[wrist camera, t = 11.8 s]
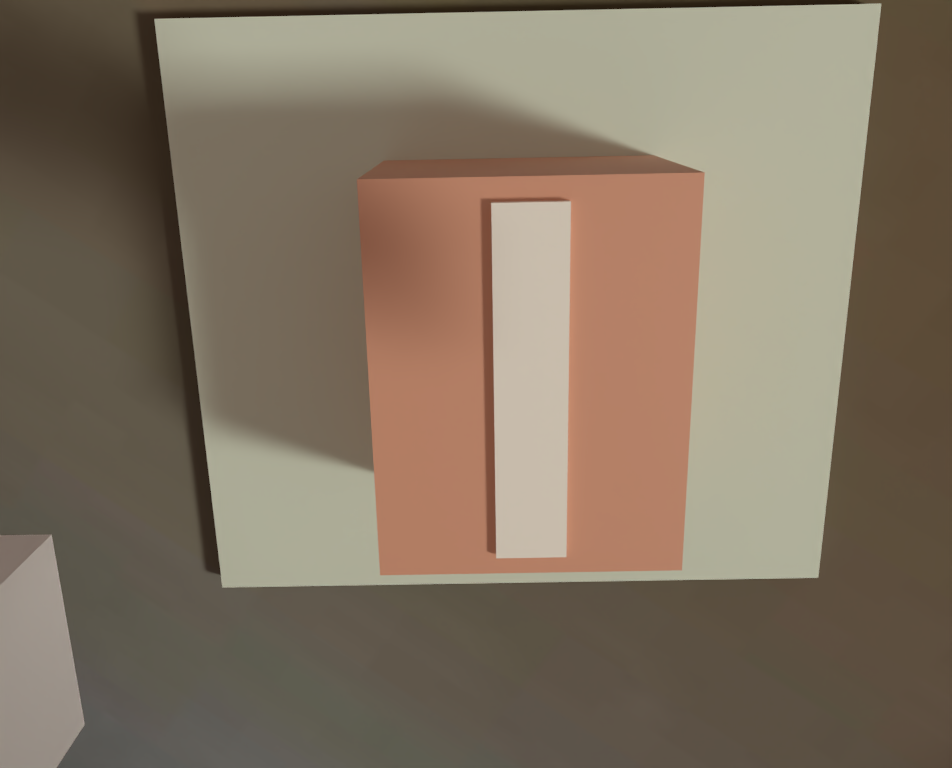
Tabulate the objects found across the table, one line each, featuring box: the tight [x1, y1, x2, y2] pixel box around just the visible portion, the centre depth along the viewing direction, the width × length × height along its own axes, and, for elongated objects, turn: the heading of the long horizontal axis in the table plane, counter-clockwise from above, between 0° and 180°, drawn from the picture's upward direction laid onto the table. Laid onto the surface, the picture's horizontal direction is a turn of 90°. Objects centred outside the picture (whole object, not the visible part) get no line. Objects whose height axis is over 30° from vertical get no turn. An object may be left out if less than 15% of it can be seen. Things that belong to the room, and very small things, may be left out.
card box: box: [357, 155, 705, 575], centre depth 22 cm, size 9×7×6 cm
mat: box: [154, 4, 881, 587], centre depth 25 cm, size 18×16×1 cm
